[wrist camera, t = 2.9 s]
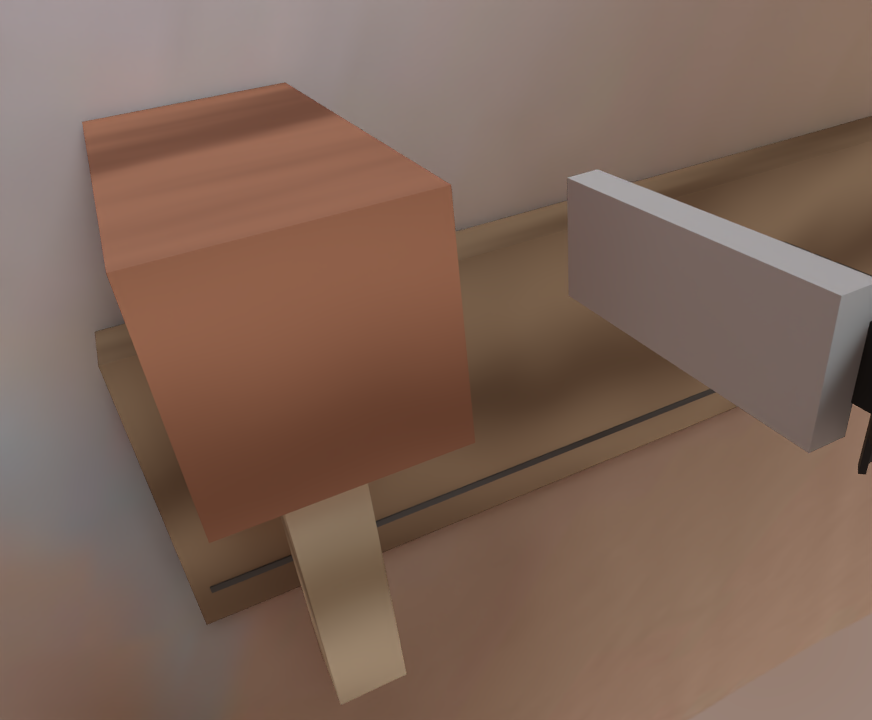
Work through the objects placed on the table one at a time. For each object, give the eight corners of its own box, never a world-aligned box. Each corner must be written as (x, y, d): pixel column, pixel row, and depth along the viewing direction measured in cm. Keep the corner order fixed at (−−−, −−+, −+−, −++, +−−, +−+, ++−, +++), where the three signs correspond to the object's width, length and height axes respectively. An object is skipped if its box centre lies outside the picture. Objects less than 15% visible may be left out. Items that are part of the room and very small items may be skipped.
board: (94, 331, 20) (98, 366, 18) (891, 110, 29) (940, 121, 27) (197, 581, 25) (207, 626, 24) (841, 329, 34) (880, 348, 33)
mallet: (82, 121, 17) (106, 273, 10) (285, 82, 19) (450, 184, 11) (237, 558, 25) (320, 836, 18) (371, 506, 27) (503, 740, 19)
